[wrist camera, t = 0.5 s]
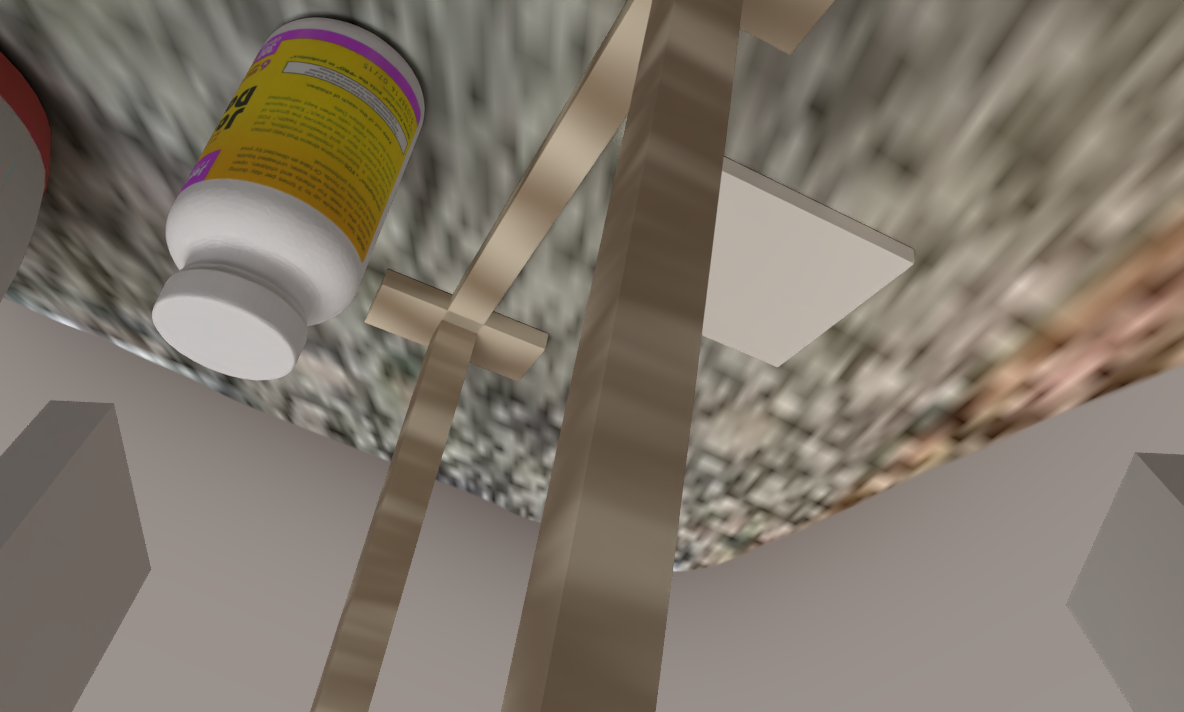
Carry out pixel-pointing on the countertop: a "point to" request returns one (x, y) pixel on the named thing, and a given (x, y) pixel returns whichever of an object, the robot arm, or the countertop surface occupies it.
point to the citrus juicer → (20, 167)
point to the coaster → (787, 267)
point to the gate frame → (581, 366)
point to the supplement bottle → (288, 198)
